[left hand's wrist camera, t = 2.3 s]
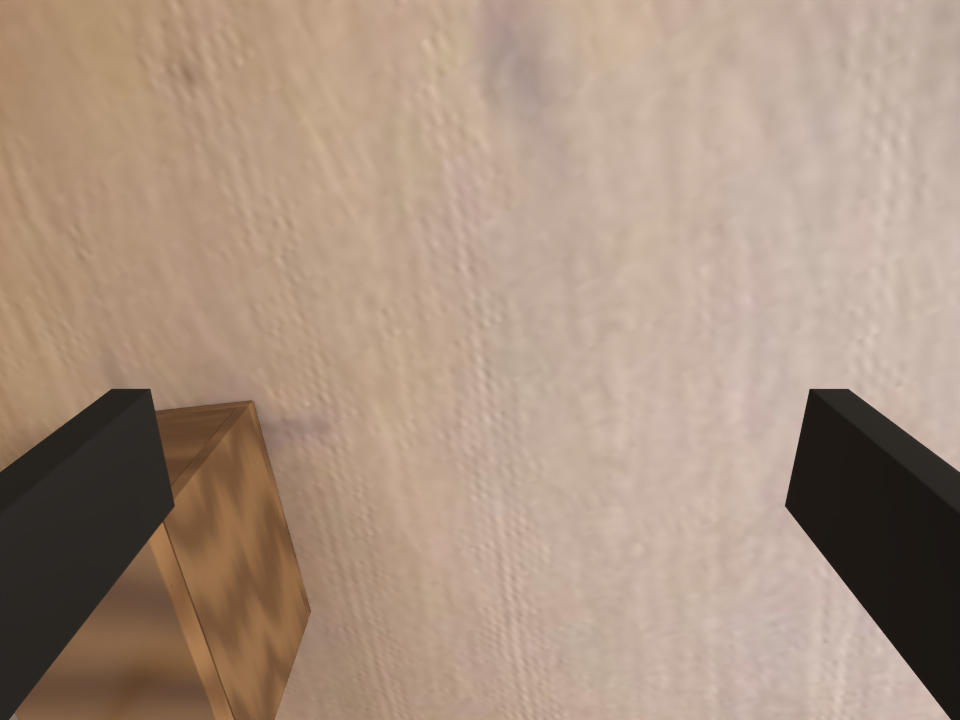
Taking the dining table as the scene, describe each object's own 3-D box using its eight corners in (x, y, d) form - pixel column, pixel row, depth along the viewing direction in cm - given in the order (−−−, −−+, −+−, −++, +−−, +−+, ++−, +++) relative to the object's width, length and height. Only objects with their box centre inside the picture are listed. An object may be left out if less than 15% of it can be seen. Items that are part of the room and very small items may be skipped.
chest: (311, 611, 42) (256, 775, 31) (180, 623, 42) (83, 790, 32) (253, 399, 36) (162, 514, 26) (103, 416, 36) (-47, 536, 26)
